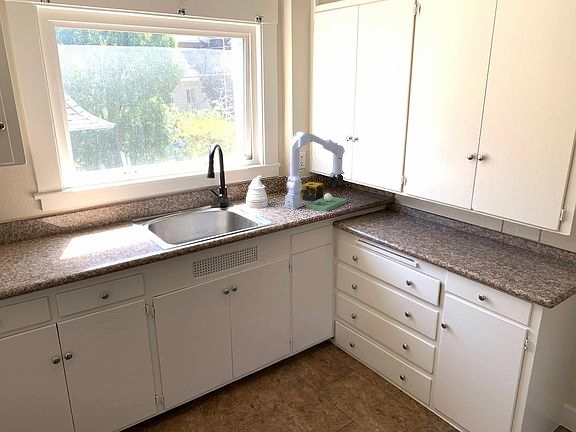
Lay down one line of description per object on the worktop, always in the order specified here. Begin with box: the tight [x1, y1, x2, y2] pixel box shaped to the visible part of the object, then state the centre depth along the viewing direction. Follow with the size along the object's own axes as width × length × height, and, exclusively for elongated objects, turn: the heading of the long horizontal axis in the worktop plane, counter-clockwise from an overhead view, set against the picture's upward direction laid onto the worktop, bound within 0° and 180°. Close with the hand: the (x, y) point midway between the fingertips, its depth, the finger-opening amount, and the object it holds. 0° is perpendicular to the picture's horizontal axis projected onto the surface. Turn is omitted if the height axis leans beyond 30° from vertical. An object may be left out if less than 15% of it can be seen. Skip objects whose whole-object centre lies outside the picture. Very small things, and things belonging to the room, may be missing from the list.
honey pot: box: [245, 175, 268, 209], centre depth 256 cm, size 13×13×18 cm
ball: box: [323, 192, 333, 201], centre depth 258 cm, size 5×5×5 cm
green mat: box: [305, 196, 348, 212], centre depth 258 cm, size 24×14×2 cm, turn 143°
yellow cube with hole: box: [301, 181, 324, 202], centre depth 270 cm, size 10×10×10 cm
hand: (336, 186), depth 265 cm, fingers open, 7 cm apart
